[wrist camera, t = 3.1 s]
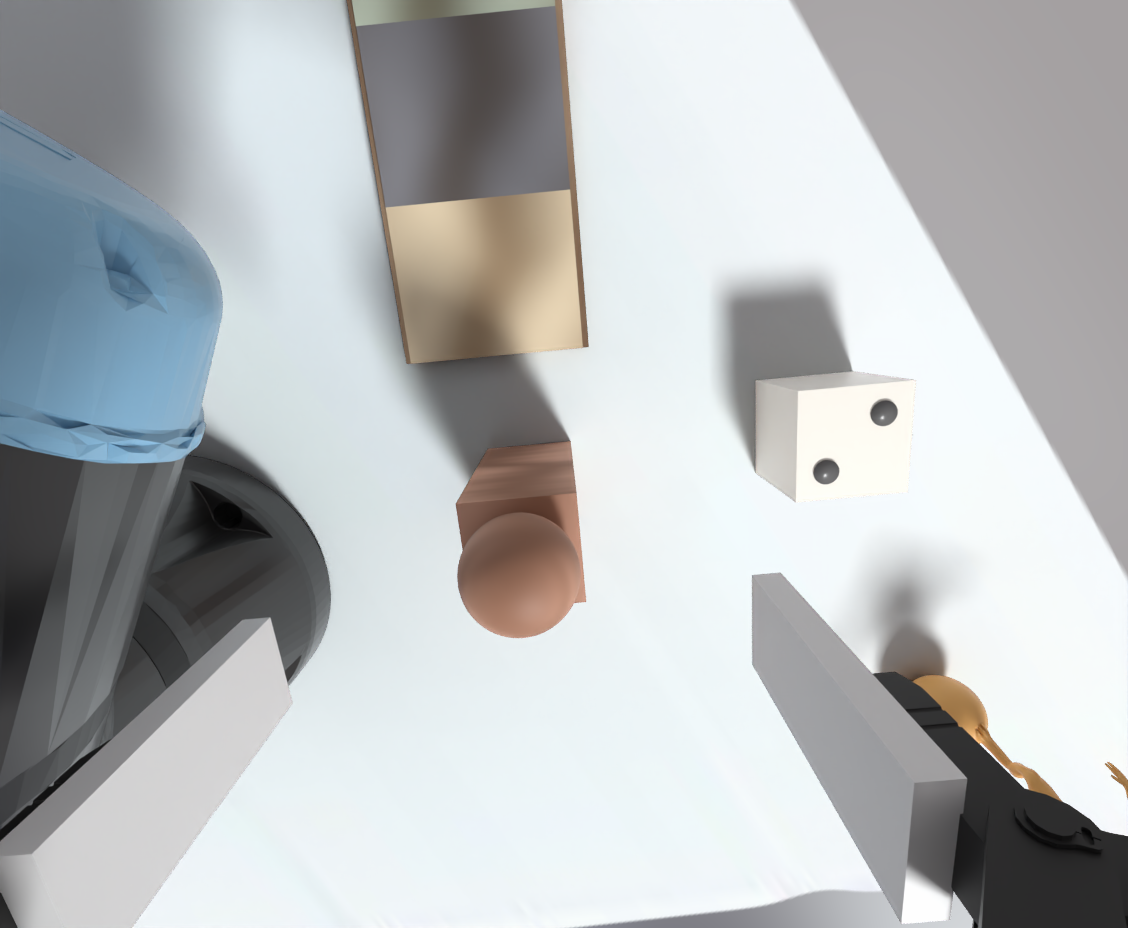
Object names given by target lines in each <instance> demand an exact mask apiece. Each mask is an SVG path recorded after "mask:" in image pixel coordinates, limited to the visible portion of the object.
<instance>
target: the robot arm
mask: <svg viewBox="0 0 1128 928" xmlns="http://www.w3.org/2000/svg"><path fill="white" fill-rule="evenodd" d="M222 308H223V301H222V291H221V286H220V282H219V279H218V276H217V274H216V271H215V269H214V267H213V265H212V263H211V261H210V260H209V258H208V256H207V254H206V252H205V251H204V250H203V248H202V247H201V246H200V245H199V243H198V242H197V241H196V239H195V238H194V237H193V236H192V235H191V234H190V233H189V232H188V231H187V229H186V228H185V227H184V226H183V225H182V224H181V223H179V222H178V221H177V220H176V219H175V218H173V217H172V216H171V215H170V214H169V213H167V212H166V211H165V210H164V209H162V208H161V207H159V206H158V205H157V204H155V203H154V202H153V201H151V200H150V199H148V198H147V197H145V196H144V195H142V194H141V193H139V192H138V191H136V190H135V189H133V188H132V187H130V186H129V185H127V184H126V183H124V182H123V181H121V180H119V179H118V178H116V177H115V176H113V175H112V174H110V173H108V172H107V171H105V170H103V169H102V168H100V167H98V166H97V165H95V164H93V163H92V162H90V161H88V160H87V159H85V158H83V157H82V156H80V155H78V154H77V153H75V152H73V151H72V150H70V149H68V148H67V147H65V146H63V145H62V144H60V143H58V142H56V141H55V140H53V139H51V138H49V137H48V136H46V135H44V134H43V133H41V132H39V131H37V130H36V129H34V128H32V127H30V126H29V125H27V124H25V123H23V122H22V121H20V120H18V119H16V118H15V117H13V116H11V115H9V114H7V113H6V112H4V111H2V110H0V928H132V927H133V926H134V924H135V923H136V921H137V920H138V919H139V917H140V916H141V915H142V913H143V912H144V910H145V909H146V908H147V906H148V905H149V903H150V902H151V901H152V899H153V898H154V896H155V895H156V894H157V892H158V891H159V889H160V888H161V887H162V885H163V884H164V882H165V881H166V880H167V878H168V877H169V875H170V874H171V873H172V871H173V870H174V868H175V867H176V866H177V864H178V863H179V861H180V860H181V859H182V857H183V856H184V854H185V853H186V852H187V850H188V849H189V847H190V846H191V845H192V843H193V842H194V840H195V839H196V838H197V836H198V835H199V833H200V832H201V831H202V829H203V828H204V826H205V825H206V824H207V822H208V821H209V819H210V818H211V817H212V815H213V814H214V812H215V811H216V810H217V808H218V807H219V805H220V804H221V803H222V801H223V800H224V798H225V797H226V796H227V794H228V793H229V792H230V790H231V789H232V787H233V786H234V785H235V783H236V782H237V780H238V779H239V778H240V776H241V775H242V773H243V772H244V771H245V769H246V768H247V766H248V765H249V764H250V762H251V761H252V759H253V758H254V757H255V755H256V754H257V752H258V751H259V750H260V748H261V747H262V745H263V744H264V743H265V741H266V740H267V738H268V737H269V736H270V734H271V733H272V731H273V730H274V729H275V727H276V726H277V724H278V723H279V722H280V720H281V719H282V717H283V716H284V715H285V713H286V712H287V710H288V709H289V708H290V706H291V705H292V703H293V702H292V699H291V695H290V691H289V687H288V686H289V685H290V684H291V683H292V682H293V680H294V679H295V678H296V677H297V675H298V674H299V673H300V671H301V670H302V669H303V668H304V666H305V665H306V664H307V662H308V661H309V660H310V658H311V657H312V655H313V654H314V653H315V651H316V650H317V648H318V646H319V644H320V642H321V640H322V638H323V636H324V633H325V630H326V627H327V623H328V619H329V613H330V603H331V593H330V582H329V577H328V572H327V568H326V565H325V562H324V559H323V556H322V553H321V551H320V549H319V547H318V545H317V543H316V541H315V539H314V537H313V535H312V534H311V532H310V531H309V529H308V527H307V526H306V525H305V523H304V522H303V521H302V519H301V518H300V517H299V516H298V514H297V513H296V512H295V511H294V510H293V509H292V508H291V507H290V506H289V505H288V504H287V503H286V502H285V501H284V500H283V499H282V498H281V497H280V496H279V495H277V494H276V493H275V492H274V491H272V490H271V489H270V488H268V487H267V486H266V485H264V484H263V483H261V482H260V481H258V480H256V479H255V478H253V477H251V476H250V475H248V474H246V473H244V472H242V471H240V470H238V469H235V468H233V467H231V466H228V465H225V464H223V463H220V462H216V461H213V460H209V459H205V458H201V457H195V456H189V455H188V454H189V453H190V452H191V451H192V450H194V449H195V448H196V447H198V446H199V444H200V442H201V440H202V437H203V434H204V431H205V427H206V424H205V422H204V414H203V408H202V400H203V396H204V392H205V388H206V383H207V379H208V375H209V370H210V366H211V362H212V357H213V353H214V349H215V345H216V340H217V336H218V332H219V327H220V323H221V319H222ZM752 665H753V666H754V668H755V670H756V672H757V673H758V675H759V677H760V679H761V680H762V682H763V684H764V686H765V687H766V689H767V691H768V693H769V694H770V696H771V698H772V700H773V701H774V703H775V705H776V706H777V708H778V710H779V712H780V713H781V715H782V717H783V719H784V720H785V722H786V724H787V726H788V727H789V729H790V731H791V733H792V734H793V736H794V738H795V740H796V741H797V743H798V745H799V747H800V748H801V750H802V752H803V753H804V755H805V757H806V759H807V760H808V762H809V764H810V766H811V767H812V769H813V771H814V773H815V774H816V776H817V778H818V780H819V781H820V783H821V785H822V787H823V788H824V790H825V792H826V794H827V795H828V797H829V799H830V800H831V802H832V804H833V806H834V807H835V809H836V811H837V813H838V814H839V816H840V818H841V820H842V821H843V823H844V825H845V827H846V828H847V830H848V832H849V834H850V835H851V837H852V839H853V841H854V842H855V844H856V846H857V847H858V849H859V851H860V853H861V854H862V856H863V858H864V860H865V861H866V863H867V865H868V867H869V868H870V870H871V872H872V874H873V875H874V877H875V879H876V881H877V882H878V884H879V886H880V888H881V889H882V891H883V893H884V894H885V896H886V898H887V900H888V901H889V903H890V905H891V907H892V908H893V910H894V912H895V914H896V915H897V917H898V919H899V921H900V922H901V924H905V923H918V922H931V921H944V920H950V915H951V907H952V899H953V891H954V892H955V894H956V895H957V897H958V898H959V899H960V901H961V902H962V904H963V905H964V907H965V908H966V909H967V910H968V912H969V914H970V915H971V916H972V918H973V926H972V928H1128V836H1124V835H1118V834H1113V833H1109V832H1105V831H1101V830H1100V829H1099V828H1098V827H1097V826H1096V825H1095V824H1094V823H1093V822H1092V821H1091V820H1090V819H1089V818H1087V817H1086V816H1084V815H1083V814H1082V813H1080V812H1079V811H1077V810H1076V809H1074V808H1073V807H1071V806H1070V805H1068V804H1066V803H1064V802H1062V801H1059V800H1057V799H1055V798H1053V797H1051V796H1049V795H1047V794H1043V793H1039V792H1035V791H1031V790H1028V789H1024V788H1023V787H1022V786H1021V785H1020V784H1019V783H1018V782H1017V781H1016V780H1015V779H1014V778H1013V777H1012V776H1011V775H1010V774H1009V773H1008V772H1007V771H1006V770H1005V769H1004V768H1003V767H1002V766H1001V765H1000V764H999V763H998V762H997V761H996V760H995V759H994V758H993V757H992V756H991V755H990V754H989V753H988V752H987V751H986V750H985V749H984V748H983V747H982V746H981V745H980V744H979V743H978V742H977V741H976V740H975V739H974V738H973V737H972V736H971V735H970V734H969V733H968V732H967V731H966V730H965V729H964V728H963V727H959V726H958V723H957V722H956V721H955V720H954V719H953V718H952V717H951V716H950V715H949V714H948V713H947V712H946V711H945V710H942V708H941V706H940V705H939V704H938V703H937V702H936V701H935V700H934V699H933V698H932V697H931V696H930V695H929V694H928V693H927V692H926V691H925V690H924V689H923V688H922V687H920V686H919V685H917V684H915V683H914V682H912V681H910V680H909V679H907V678H905V677H903V676H902V675H900V674H898V673H897V672H887V673H875V674H872V673H871V672H870V671H869V670H868V669H867V667H866V666H865V665H864V664H863V663H862V662H861V661H860V660H859V659H858V657H857V656H856V655H855V654H854V653H853V652H852V651H851V650H850V649H849V648H848V646H847V645H846V644H845V643H844V642H843V641H842V640H841V639H840V638H839V637H838V635H837V634H836V633H835V632H834V631H833V630H832V629H831V628H830V627H829V626H828V624H827V623H826V622H825V621H824V620H823V619H822V618H821V617H820V616H819V615H818V613H817V612H816V611H815V610H814V609H813V608H812V607H811V606H810V605H809V603H808V602H807V601H806V600H805V599H804V598H803V597H802V596H801V595H800V594H799V592H798V591H797V590H796V589H795V588H794V587H793V586H792V585H791V584H790V583H789V581H788V580H787V579H786V578H785V577H784V576H783V575H782V574H781V573H771V574H760V575H752Z"/></svg>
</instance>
